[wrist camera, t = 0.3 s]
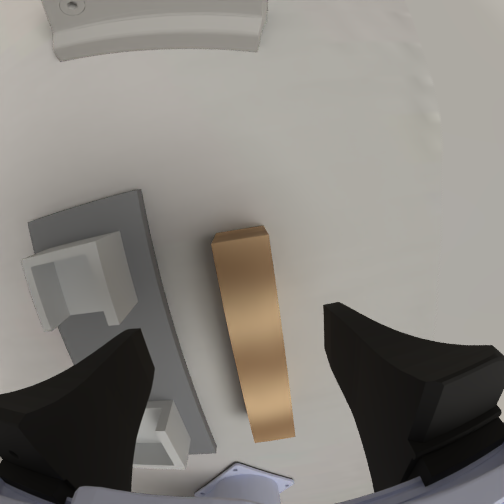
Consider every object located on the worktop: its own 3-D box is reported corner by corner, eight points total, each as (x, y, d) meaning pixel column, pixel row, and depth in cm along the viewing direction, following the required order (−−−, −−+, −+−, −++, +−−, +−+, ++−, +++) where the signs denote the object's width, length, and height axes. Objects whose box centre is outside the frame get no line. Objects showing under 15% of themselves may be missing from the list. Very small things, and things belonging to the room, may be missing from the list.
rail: (288, 405, 24) (295, 436, 20) (252, 411, 24) (254, 442, 20) (263, 225, 21) (268, 234, 17) (216, 232, 20) (211, 244, 17)
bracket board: (216, 445, 25) (214, 482, 20) (126, 446, 25) (114, 478, 20) (141, 189, 19) (114, 191, 15) (34, 220, 19) (-3, 230, 15)
